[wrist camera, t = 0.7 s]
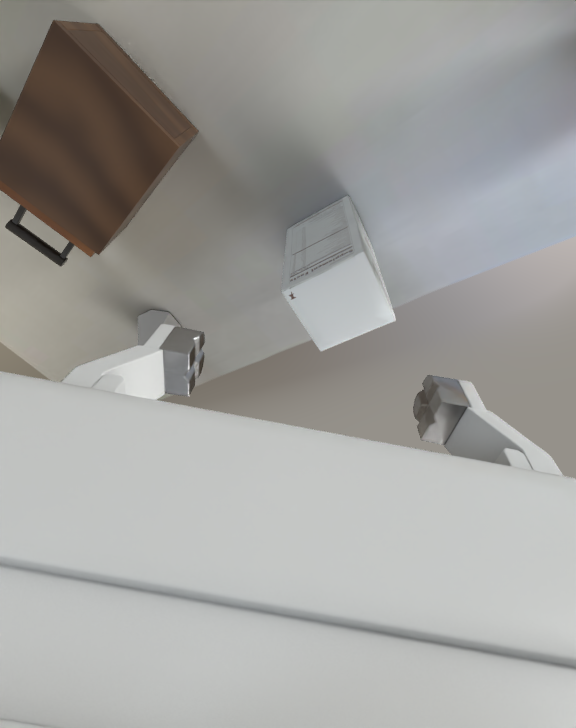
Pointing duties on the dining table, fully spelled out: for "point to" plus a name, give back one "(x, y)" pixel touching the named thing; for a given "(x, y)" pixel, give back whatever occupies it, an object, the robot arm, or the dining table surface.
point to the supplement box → (334, 276)
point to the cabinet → (90, 135)
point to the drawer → (32, 238)
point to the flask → (153, 324)
